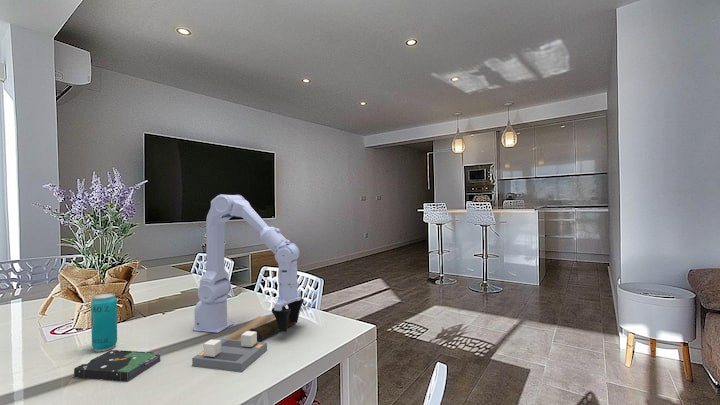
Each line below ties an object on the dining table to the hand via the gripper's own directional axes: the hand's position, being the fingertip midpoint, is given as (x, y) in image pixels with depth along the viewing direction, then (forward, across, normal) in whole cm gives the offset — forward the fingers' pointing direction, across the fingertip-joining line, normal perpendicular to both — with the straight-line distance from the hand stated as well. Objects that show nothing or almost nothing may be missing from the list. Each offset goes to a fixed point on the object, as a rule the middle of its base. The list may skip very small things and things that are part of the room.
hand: (288, 326), depth 104 cm
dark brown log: (+2, 0, +5) cm, 5 cm away
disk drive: (+3, -30, +32) cm, 43 cm away
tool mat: (+2, 0, +13) cm, 13 cm away
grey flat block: (+2, -18, +8) cm, 20 cm away
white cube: (0, -22, +11) cm, 24 cm away
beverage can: (+2, -21, +47) cm, 51 cm away
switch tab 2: (0, -15, +4) cm, 16 cm away
